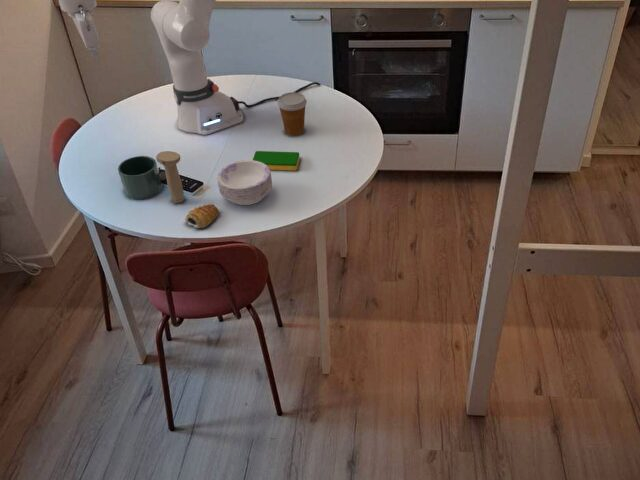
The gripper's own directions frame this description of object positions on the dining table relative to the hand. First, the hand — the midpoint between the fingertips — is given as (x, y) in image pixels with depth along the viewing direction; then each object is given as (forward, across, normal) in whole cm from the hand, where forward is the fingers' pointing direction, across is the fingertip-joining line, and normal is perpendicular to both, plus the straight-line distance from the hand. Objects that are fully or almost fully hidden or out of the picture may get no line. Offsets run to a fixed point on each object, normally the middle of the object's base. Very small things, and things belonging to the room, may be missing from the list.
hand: (93, 52), depth 165 cm
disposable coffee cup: (+37, -3, -55) cm, 67 cm away
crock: (+37, -13, -2) cm, 39 cm away
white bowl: (+37, -31, -28) cm, 56 cm away
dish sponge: (+37, -19, -42) cm, 59 cm away
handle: (+37, -24, -10) cm, 45 cm away
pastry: (+37, -36, -13) cm, 53 cm away
